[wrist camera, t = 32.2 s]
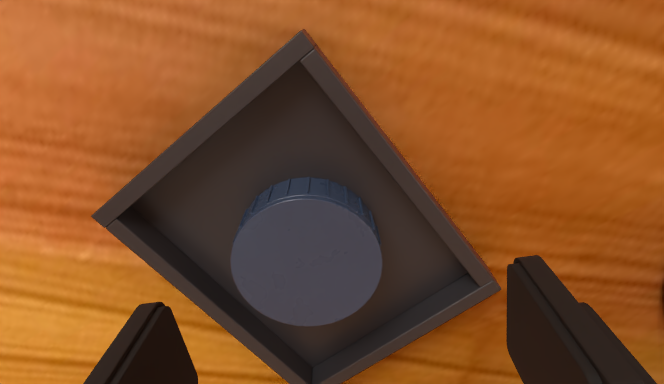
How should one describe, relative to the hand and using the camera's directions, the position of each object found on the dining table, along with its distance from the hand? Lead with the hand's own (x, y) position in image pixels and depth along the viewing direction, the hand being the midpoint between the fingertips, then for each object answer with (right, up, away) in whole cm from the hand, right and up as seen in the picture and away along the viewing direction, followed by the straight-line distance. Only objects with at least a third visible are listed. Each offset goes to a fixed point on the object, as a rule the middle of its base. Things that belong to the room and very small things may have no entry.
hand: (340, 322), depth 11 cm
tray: (-1, +1, +10) cm, 10 cm away
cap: (-1, 0, +8) cm, 8 cm away
